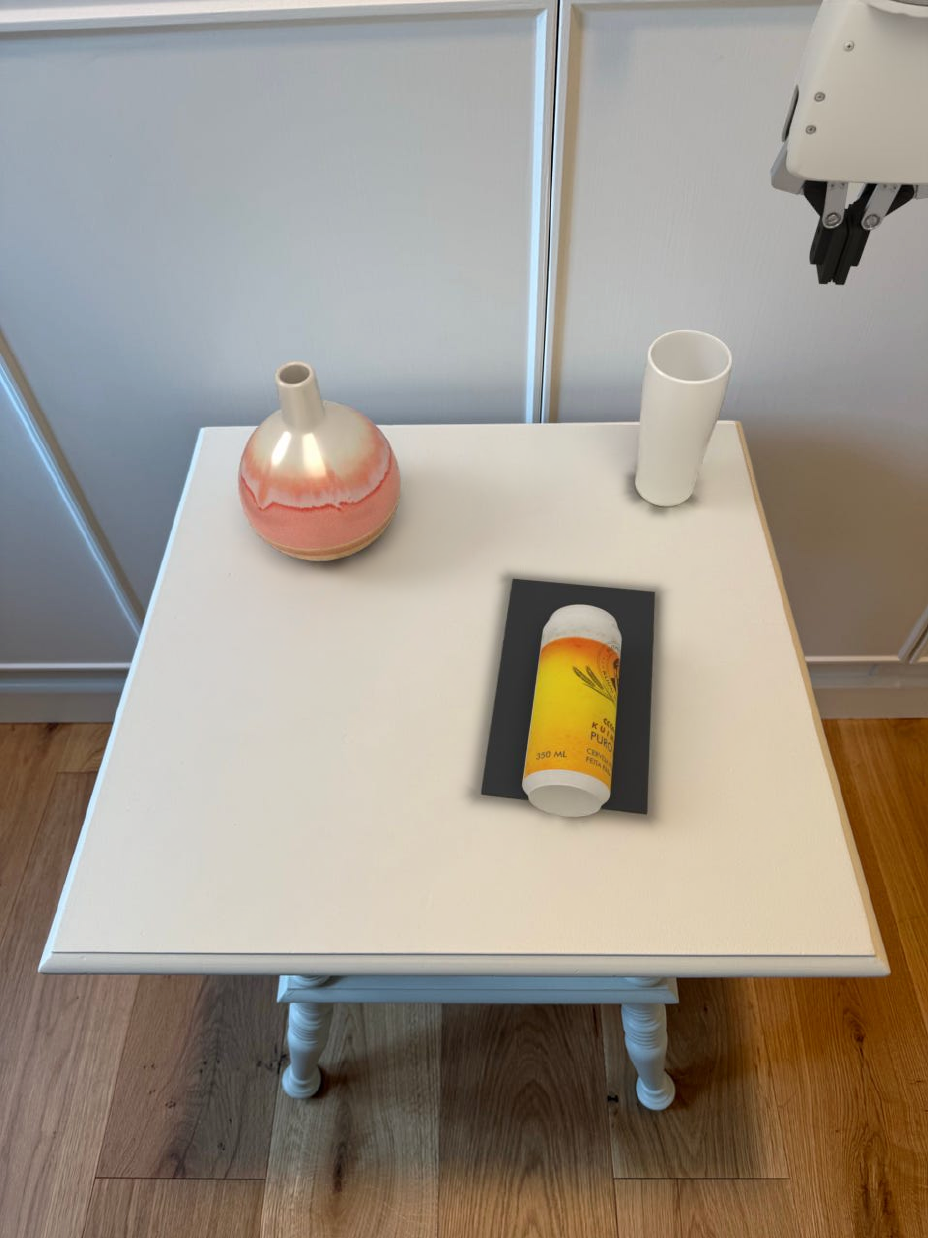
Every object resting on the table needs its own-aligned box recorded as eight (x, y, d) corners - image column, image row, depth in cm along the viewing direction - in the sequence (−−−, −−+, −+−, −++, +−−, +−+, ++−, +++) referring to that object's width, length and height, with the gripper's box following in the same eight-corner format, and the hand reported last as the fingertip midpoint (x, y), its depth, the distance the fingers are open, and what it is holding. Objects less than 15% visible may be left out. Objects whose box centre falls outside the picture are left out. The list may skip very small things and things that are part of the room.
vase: (375, 456, 88) (350, 297, 74) (429, 556, 81) (412, 401, 67) (237, 502, 86) (183, 346, 71) (280, 610, 78) (229, 459, 64)
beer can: (607, 784, 60) (621, 602, 69) (515, 778, 62) (540, 600, 70) (611, 823, 65) (623, 648, 74) (526, 816, 66) (548, 645, 75)
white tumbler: (706, 514, 83) (741, 381, 70) (631, 516, 83) (652, 385, 71) (694, 460, 87) (725, 326, 74) (622, 463, 87) (641, 329, 74)
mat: (654, 594, 78) (655, 591, 77) (646, 814, 66) (647, 812, 66) (512, 581, 79) (512, 578, 79) (481, 794, 68) (481, 792, 67)
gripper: (1068, -71, 49) (935, 245, 64) (778, -74, 50) (715, 235, 65) (1106, -11, 44) (954, 313, 59) (787, -17, 46) (717, 300, 61)
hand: (829, 271), depth 62 cm, fingers closed
